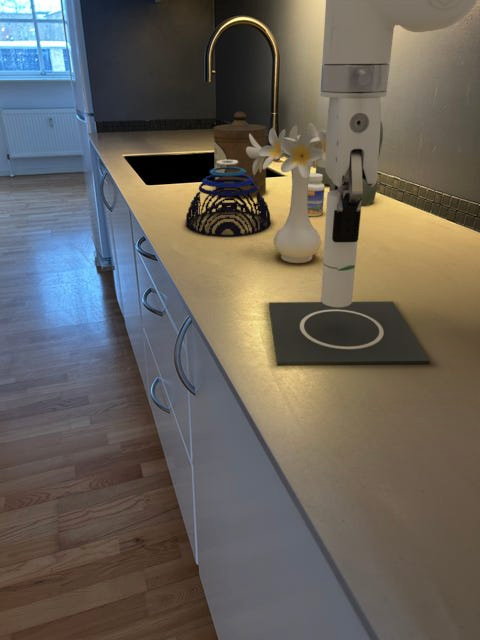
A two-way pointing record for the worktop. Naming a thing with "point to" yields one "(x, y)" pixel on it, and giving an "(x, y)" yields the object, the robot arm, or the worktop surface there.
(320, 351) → the slate board
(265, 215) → the decorative bowl
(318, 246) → the flower vase
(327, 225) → the tube
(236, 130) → the wooden container
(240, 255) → the worktop surface
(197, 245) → the worktop surface
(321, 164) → the smart speaker
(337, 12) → the robot arm
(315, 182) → the pill bottle
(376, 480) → the worktop surface
